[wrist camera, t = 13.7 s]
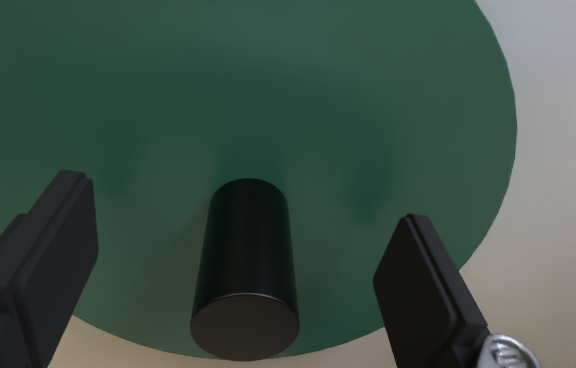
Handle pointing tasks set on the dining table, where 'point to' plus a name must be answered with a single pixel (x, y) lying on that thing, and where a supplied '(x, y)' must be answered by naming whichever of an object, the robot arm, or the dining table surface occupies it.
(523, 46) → the dining table surface
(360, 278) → the pot lid
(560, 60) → the dining table surface
